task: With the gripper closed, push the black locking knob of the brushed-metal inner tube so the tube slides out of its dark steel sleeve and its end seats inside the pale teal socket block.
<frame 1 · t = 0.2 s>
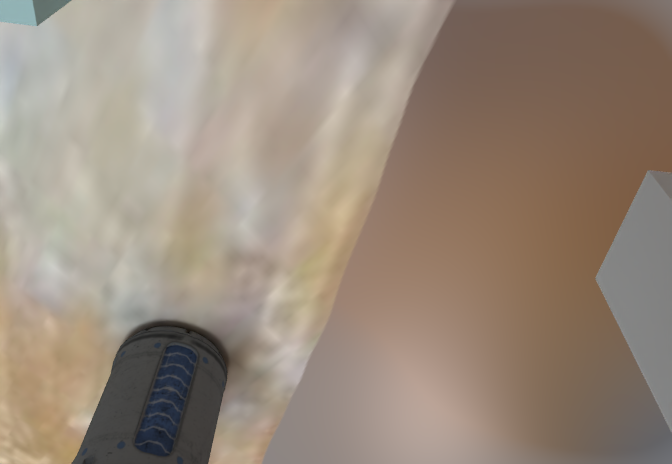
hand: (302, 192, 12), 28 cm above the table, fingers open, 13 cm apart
beverage bottle: (173, 361, 57), on the table
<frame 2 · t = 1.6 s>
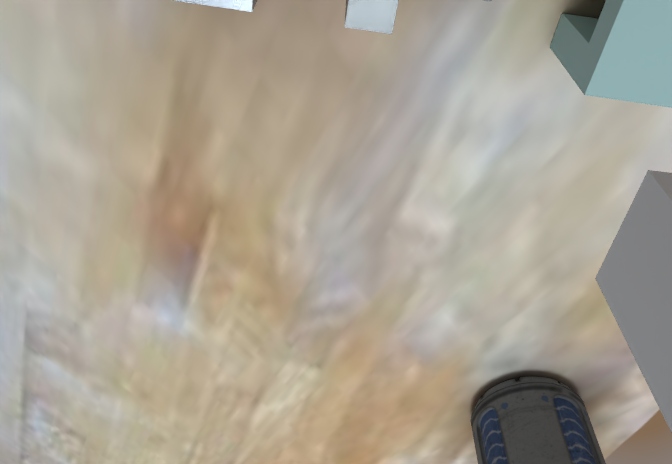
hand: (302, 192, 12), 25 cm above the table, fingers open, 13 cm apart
beverage bottle: (518, 408, 56), on the table
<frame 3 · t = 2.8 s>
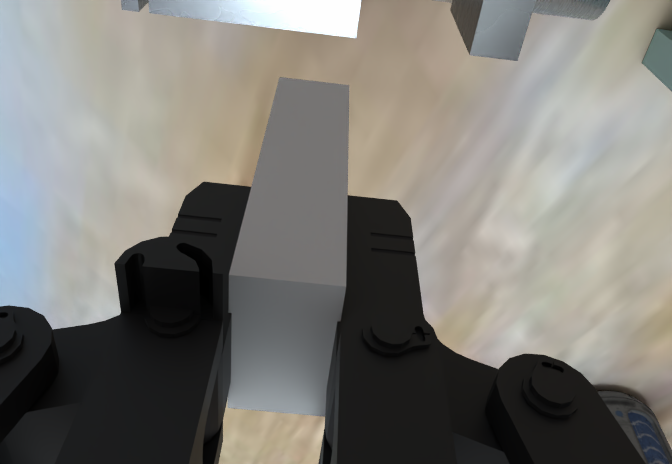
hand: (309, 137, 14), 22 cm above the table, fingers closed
beverage bottle: (585, 422, 55), on the table
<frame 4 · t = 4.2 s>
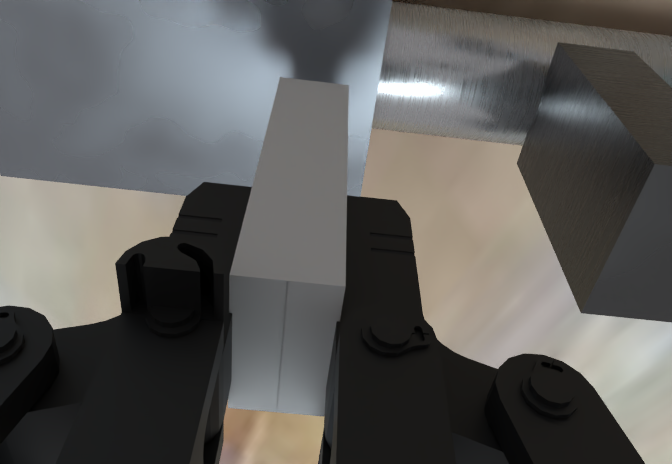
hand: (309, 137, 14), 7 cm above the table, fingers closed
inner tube: (413, 114, 15), point 5 cm above the table, slide at 0.0 cm
outer sleeve: (215, 19, 19), on the table
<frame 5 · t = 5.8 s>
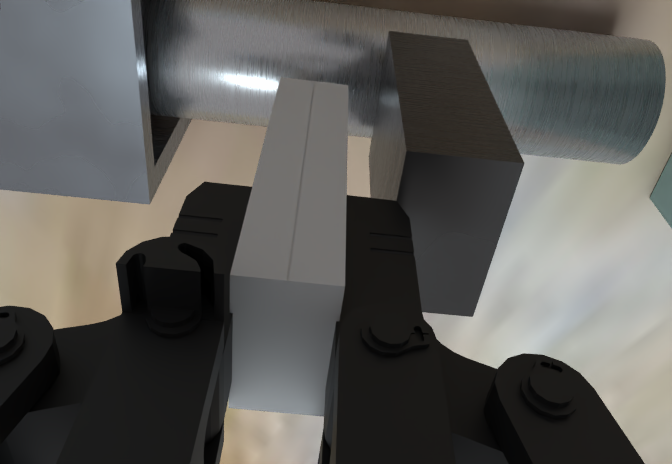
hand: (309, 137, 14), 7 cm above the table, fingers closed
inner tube: (239, 105, 15), point 5 cm above the table, slide at 1.5 cm, touching gripper
outer sleeve: (27, 7, 19), on the table
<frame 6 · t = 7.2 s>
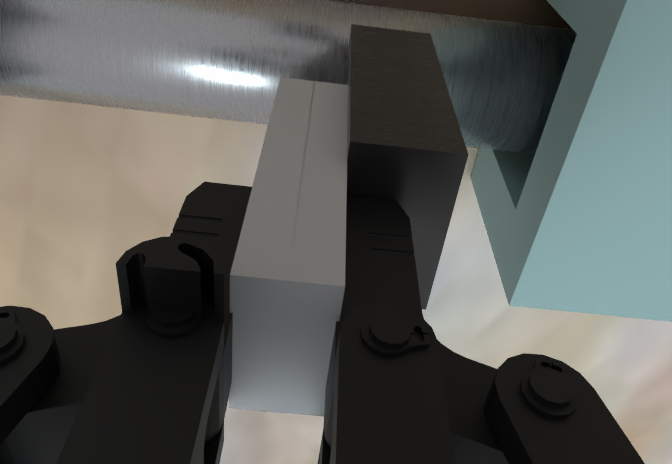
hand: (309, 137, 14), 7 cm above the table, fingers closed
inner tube: (200, 98, 15), point 5 cm above the table, slide at 7.3 cm, touching gripper
socket block: (579, 68, 20), on the table
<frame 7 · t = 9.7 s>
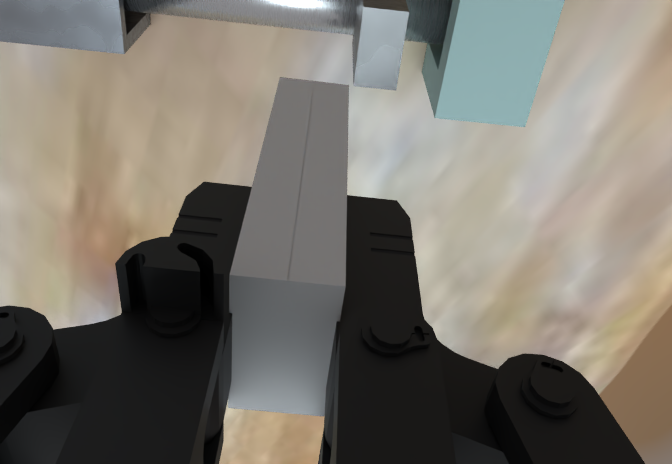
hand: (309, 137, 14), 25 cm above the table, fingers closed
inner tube: (288, 9, 31), point 5 cm above the table, slide at 7.7 cm
socket block: (477, 3, 36), on the table
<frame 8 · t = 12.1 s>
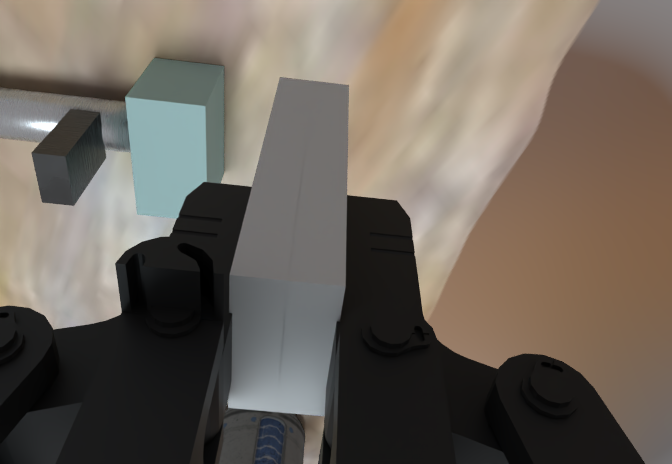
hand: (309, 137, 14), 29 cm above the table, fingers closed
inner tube: (14, 135, 41), point 5 cm above the table, slide at 7.7 cm
beverage bottle: (258, 426, 69), on the table
socket block: (191, 118, 46), on the table
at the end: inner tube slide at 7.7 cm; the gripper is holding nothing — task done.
